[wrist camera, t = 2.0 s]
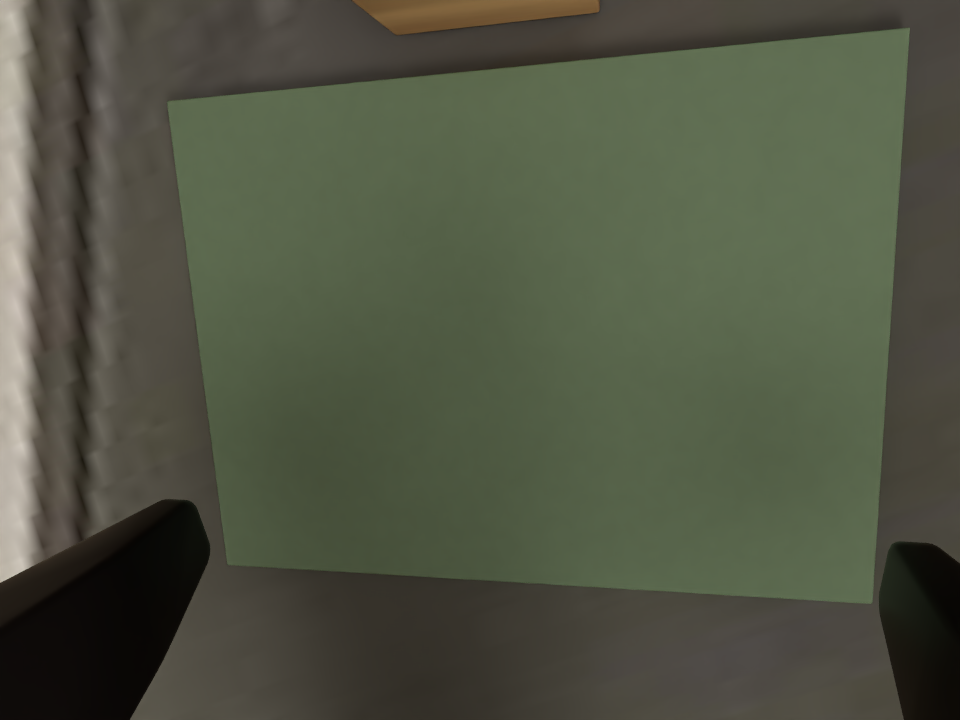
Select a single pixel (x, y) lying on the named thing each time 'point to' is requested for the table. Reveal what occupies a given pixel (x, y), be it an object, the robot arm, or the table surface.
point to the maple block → (467, 12)
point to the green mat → (556, 317)
